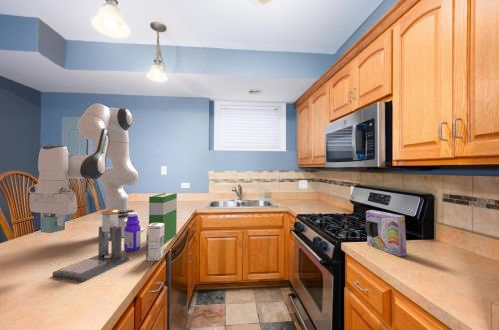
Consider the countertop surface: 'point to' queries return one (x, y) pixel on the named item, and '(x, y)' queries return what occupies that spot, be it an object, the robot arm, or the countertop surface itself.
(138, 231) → the bottle
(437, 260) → the countertop surface
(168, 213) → the green striped box
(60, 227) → the block
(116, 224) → the press ram
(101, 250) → the base
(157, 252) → the syrup box
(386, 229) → the cake pan box
